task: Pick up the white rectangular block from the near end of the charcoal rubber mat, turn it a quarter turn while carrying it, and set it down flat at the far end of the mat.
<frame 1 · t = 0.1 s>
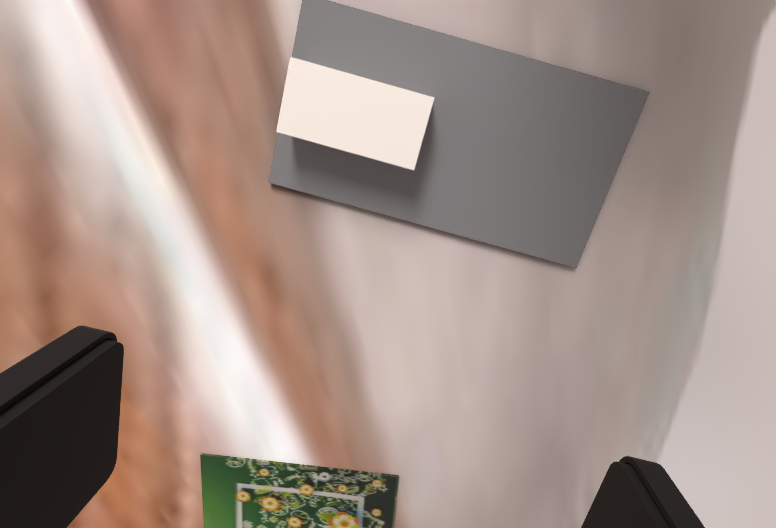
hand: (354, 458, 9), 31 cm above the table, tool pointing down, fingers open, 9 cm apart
white rectangular block: (360, 114, 36), point 1 cm above the table, touching mat
mat: (448, 139, 37), on the table
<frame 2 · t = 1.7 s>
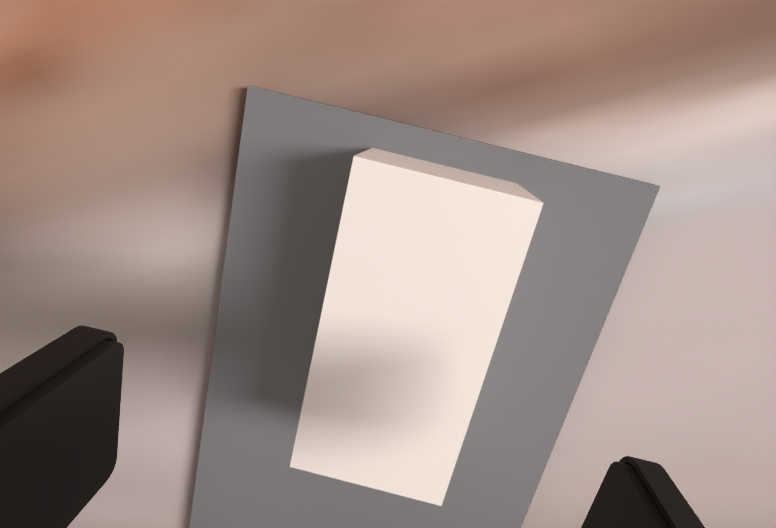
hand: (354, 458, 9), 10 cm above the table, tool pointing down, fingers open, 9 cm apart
white rectangular block: (408, 299, 17), point 1 cm above the table, touching mat
mat: (369, 443, 20), on the table
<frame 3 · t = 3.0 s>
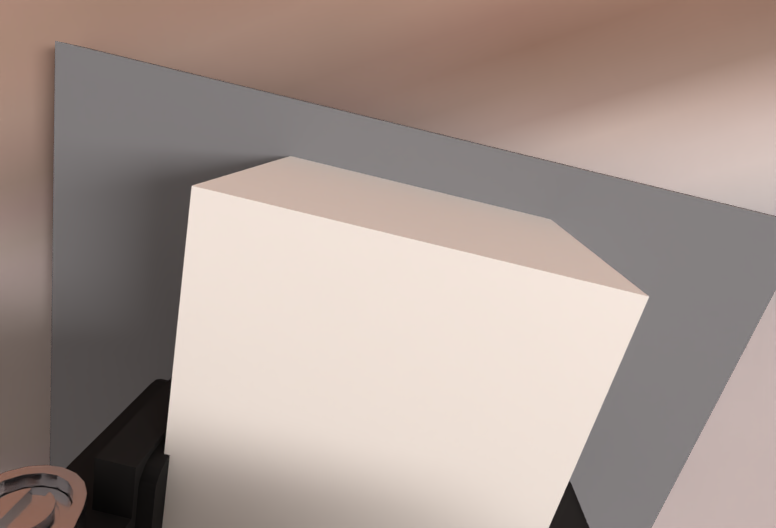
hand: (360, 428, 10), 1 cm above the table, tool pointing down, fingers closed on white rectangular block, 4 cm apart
white rectangular block: (364, 410, 10), point 1 cm above the table, touching gripper, mat
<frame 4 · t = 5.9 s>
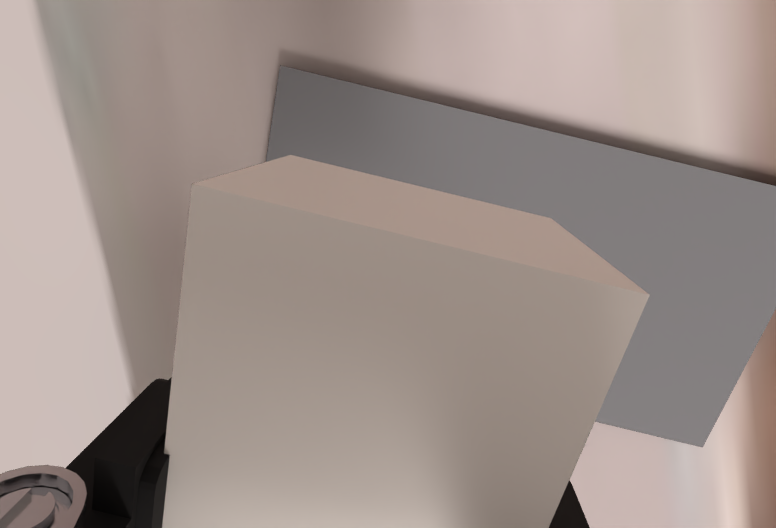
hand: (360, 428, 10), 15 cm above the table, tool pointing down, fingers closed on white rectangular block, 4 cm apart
white rectangular block: (364, 409, 10), point 15 cm above the table, touching gripper
mat: (508, 270, 24), on the table
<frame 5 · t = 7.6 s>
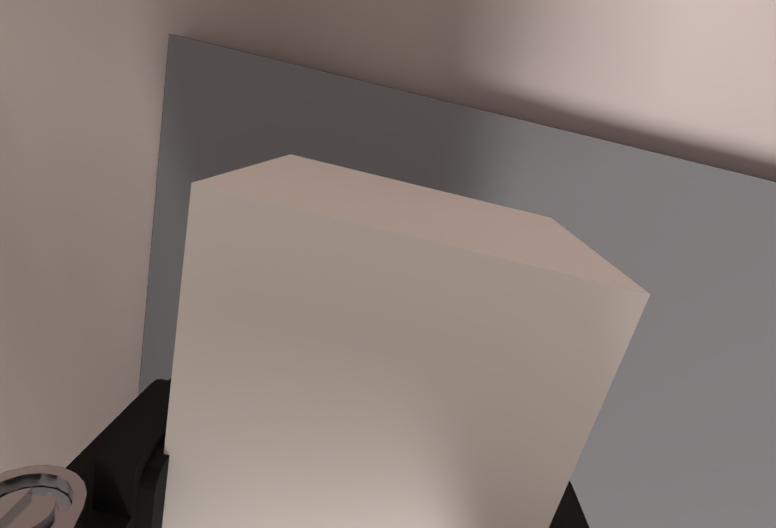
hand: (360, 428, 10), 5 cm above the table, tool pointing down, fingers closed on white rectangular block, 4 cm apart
white rectangular block: (364, 409, 10), point 4 cm above the table, touching gripper
mat: (568, 380, 15), on the table
when the fingers open (2 cm above the table, at t = 9.0 s): white rectangular block drops 1 cm, resting on mat.
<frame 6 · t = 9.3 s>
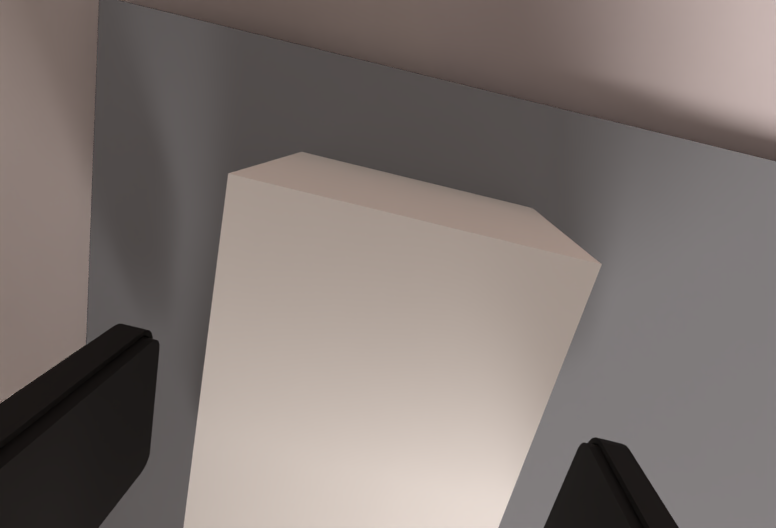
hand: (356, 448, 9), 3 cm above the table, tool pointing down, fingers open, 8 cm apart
white rectangular block: (366, 381, 11), point 1 cm above the table, touching mat
mat: (600, 423, 12), on the table
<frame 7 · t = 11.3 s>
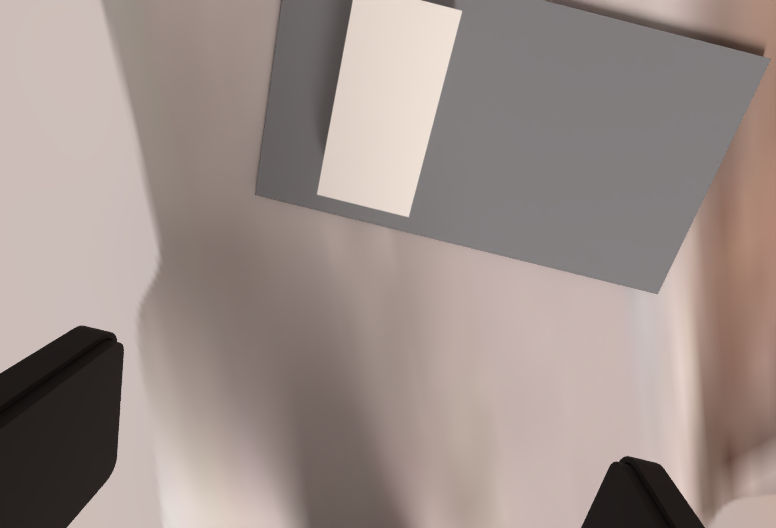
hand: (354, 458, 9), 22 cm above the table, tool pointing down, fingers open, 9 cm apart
white rectangular block: (389, 106, 27), point 1 cm above the table, touching mat
mat: (490, 131, 28), on the table
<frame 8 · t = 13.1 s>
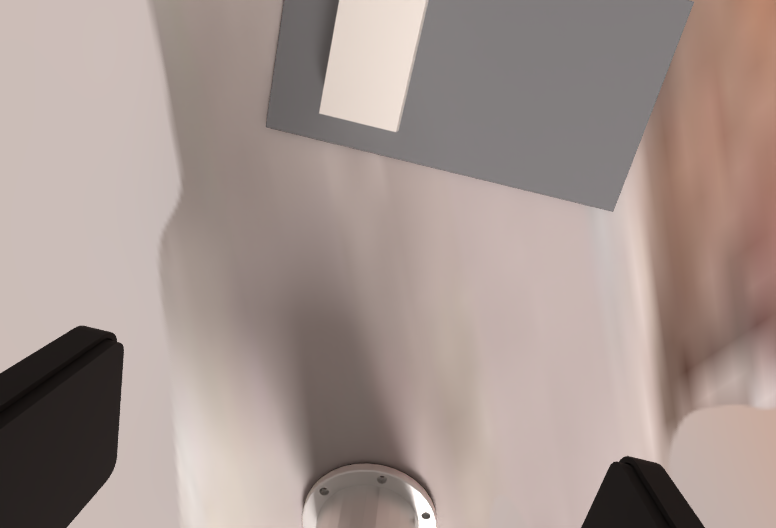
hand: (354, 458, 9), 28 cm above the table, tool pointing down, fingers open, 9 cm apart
white rectangular block: (380, 47, 32), point 1 cm above the table, touching mat
mat: (465, 69, 33), on the table
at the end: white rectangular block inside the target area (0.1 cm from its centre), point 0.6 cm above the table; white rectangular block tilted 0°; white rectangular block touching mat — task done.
